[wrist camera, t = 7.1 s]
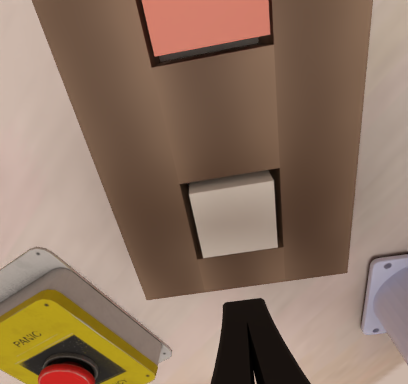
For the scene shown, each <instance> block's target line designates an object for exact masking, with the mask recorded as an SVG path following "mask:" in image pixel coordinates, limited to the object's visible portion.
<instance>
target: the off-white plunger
mask: <svg viewBox="0 0 408 384" xmlns="http://www.w3.org/2000/svg"><path fill="white" fill-rule="evenodd" d="M189 197H190V201H191V206H192V210H193V215H194V219H195V224H196V228H197V232H198V237H199V241H200V246H201V250H202V255H203V258H208V257H215V256H222V255H229V254H236V253H243V252H250V251H257V250H264V249H271V248H278V243H277V226H276V210H275V193H274V180H273V178H272V176H271V174H270V173H269V171H268V170H264V171H257V172H251V173H245V174H239V175H233V176H227V177H220V178H214V179H208V180H202V181H196V182H190V184H189Z"/></svg>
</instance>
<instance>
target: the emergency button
mask: <svg viewBox="0 0 408 384" xmlns="http://www.w3.org/2000/svg"><path fill="white" fill-rule="evenodd" d="M171 355H172V350H171V349H170V347H169V346H168V345H166V344H165V343H164V342H163V341H161V340H160V339H159V338H158V337H157V336H155V335H154V334H153V333H152V332H150V331H149V330H148V329H147V328H145V327H144V326H143V325H142V324H141V323H139V322H138V321H137V320H136V319H134V318H133V317H132V316H131V315H129V314H128V313H127V312H126V311H124V310H123V309H122V308H121V307H120V306H118V305H117V304H116V303H115V302H113V301H112V300H111V299H110V298H108V297H107V296H106V295H105V294H104V293H102V292H101V291H100V290H99V289H97V288H96V287H95V286H94V285H92V284H91V283H90V282H89V281H87V280H86V279H85V278H84V277H83V276H81V275H80V274H79V273H78V272H76V271H75V270H74V269H73V268H71V267H70V266H69V265H68V264H67V263H65V262H64V261H63V260H62V259H60V258H59V257H58V256H57V255H55V254H54V253H53V252H51V251H49V250H47V249H46V248H40V247H35V248H32V249H30V250H28V251H27V252H25V253H24V254H22V255H21V256H20V257H18V258H17V259H15V260H14V261H12V262H11V263H9V264H8V265H6V266H5V267H3V268H2V269H1V270H0V370H1V371H3V372H5V373H7V374H9V375H11V376H12V377H14V378H16V379H18V380H20V381H22V382H23V383H25V384H147V383H150V382H152V381H153V380H154V379H155V376H156V373H157V369H158V363H160V362H162V361H165V360H167V359H169V358H170V357H171Z"/></svg>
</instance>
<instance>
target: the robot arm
mask: <svg viewBox="0 0 408 384" xmlns="http://www.w3.org/2000/svg"><path fill="white" fill-rule="evenodd" d="M361 330H362V332H363V333H364V334H366V335H372V334H381V333H388V335H389V336H390V338H391V340H392V341H393V343H394V344H395V346H396V347H397V349H398V351H399V352H400V354H401V355H402V357H403V358H404V360H405V361H406V363H407V365H408V254H405V255H397V256H390V257H383V258H377V259H374V260H373V261H372V262H371V264H370V270H369V277H368V284H367V291H366V298H365V305H364V312H363V318H362V325H361ZM254 374H255V378H256V382H257V384H311V383H310V382H309V381H308V379H307V378H306V376H305V375H304V373H303V371H302V370H301V368H300V367H299V365H298V364H297V362H296V360H295V359H294V357H293V355H292V354H291V352H290V350H289V349H288V347H287V346H286V344H285V342H284V340H283V339H282V337H281V335H280V333H279V331H278V329H277V328H276V326H275V324H274V322H273V320H272V318H271V316H270V313H269V311H268V309H267V306H266V304H265V301H264V300H263V299H261V298H258V299H250V300H242V301H234V302H226V303H225V304H224V305H223V319H222V329H221V336H220V343H219V348H218V353H217V358H216V363H215V368H214V372H213V376H212V380H211V384H255V382H254Z"/></svg>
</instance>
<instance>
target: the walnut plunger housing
mask: <svg viewBox="0 0 408 384" xmlns="http://www.w3.org/2000/svg"><path fill="white" fill-rule="evenodd" d="M268 1H269V20H270V35H265V36H259V43H258V44H252V45H247V46H242V47H237V48H232V49H226V50H221V51H216V52H211V53H205V54H200V55H195V56H190V57H184V58H179V59H174V60H169V61H163V62H160V58H159V56H154V52H153V47H152V43H151V39H150V34H149V30H148V26H147V21H146V17H145V13H144V8H143V4H142V0H32V2H33V5H34V7H35V10H36V13H37V15H38V18H39V20H40V23H41V26H42V28H43V31H44V33H45V36H46V39H47V41H48V44H49V47H50V49H51V52H52V54H53V57H54V60H55V62H56V65H57V67H58V70H59V73H60V75H61V78H62V80H63V83H64V86H65V88H66V91H67V93H68V96H69V99H70V101H71V104H72V106H73V109H74V112H75V114H76V117H77V119H78V122H79V125H80V127H81V130H82V132H83V135H84V138H85V140H86V143H87V146H88V148H89V151H90V153H91V156H92V159H93V161H94V164H95V166H96V169H97V172H98V174H99V177H100V179H101V182H102V185H103V187H104V190H105V192H106V195H107V198H108V200H109V203H110V205H111V208H112V211H113V213H114V216H115V218H116V221H117V224H118V226H119V229H120V231H121V234H122V237H123V239H124V242H125V245H126V247H127V250H128V252H129V255H130V258H131V260H132V263H133V265H134V268H135V271H136V273H137V276H138V278H139V281H140V284H141V286H142V289H143V291H144V294H145V297H146V299H147V300H152V299H159V298H166V297H174V296H181V295H188V294H196V293H203V292H210V291H218V290H225V289H232V288H240V287H247V286H254V285H262V284H269V283H276V282H284V281H291V280H299V279H306V278H313V277H321V276H328V275H335V274H343V273H347V270H348V260H349V249H350V238H351V228H352V217H353V207H354V196H355V185H356V175H357V164H358V154H359V143H360V132H361V122H362V111H363V100H364V90H365V79H366V69H367V58H368V47H369V37H370V26H371V16H372V5H373V0H268ZM264 170H268V171H269V173H270V174H271V176H272V178H273V180H274V193H275V210H276V226H277V243H278V248H271V249H264V250H257V251H250V252H243V253H236V254H229V255H222V256H215V257H208V258H203V255H202V250H201V246H200V241H199V237H198V232H197V228H196V224H195V219H194V215H193V210H192V206H191V201H190V197H189V188H188V184H187V183H190V182H196V181H202V180H208V179H214V178H220V177H227V176H233V175H239V174H245V173H251V172H257V171H264Z"/></svg>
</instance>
